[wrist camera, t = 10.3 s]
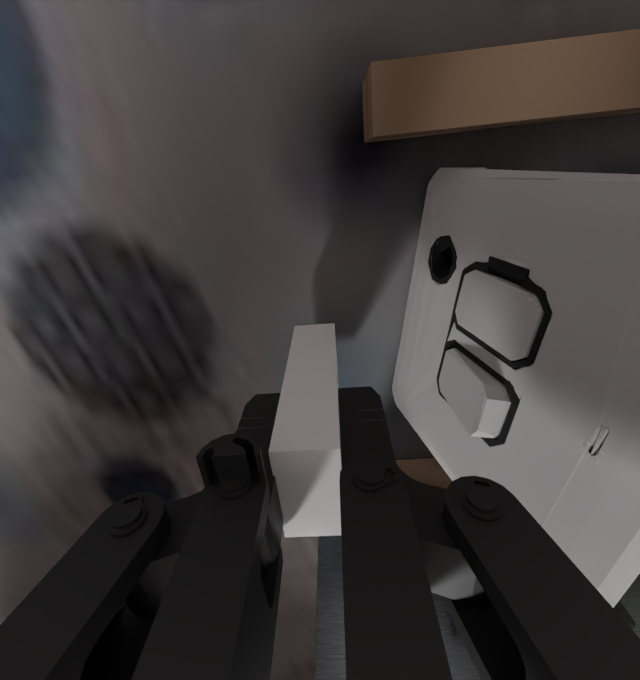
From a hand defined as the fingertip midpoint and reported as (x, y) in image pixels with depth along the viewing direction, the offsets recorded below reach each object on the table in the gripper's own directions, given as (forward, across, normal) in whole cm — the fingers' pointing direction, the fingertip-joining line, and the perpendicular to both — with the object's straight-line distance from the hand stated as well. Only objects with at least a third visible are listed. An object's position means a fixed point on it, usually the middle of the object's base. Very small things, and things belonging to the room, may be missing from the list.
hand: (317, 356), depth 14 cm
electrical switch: (+2, +6, +2) cm, 7 cm away
